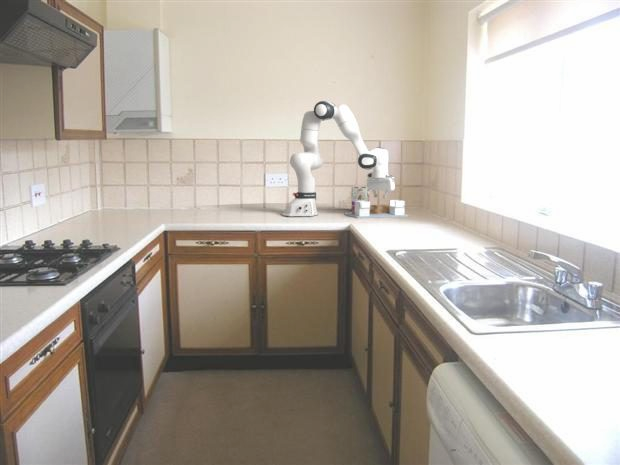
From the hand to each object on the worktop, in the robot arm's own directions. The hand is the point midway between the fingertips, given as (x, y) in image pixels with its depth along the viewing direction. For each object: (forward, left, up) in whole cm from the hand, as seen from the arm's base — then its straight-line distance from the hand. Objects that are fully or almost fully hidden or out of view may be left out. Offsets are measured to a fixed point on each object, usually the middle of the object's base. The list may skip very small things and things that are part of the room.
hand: (380, 197), depth 323 cm
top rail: (0, +9, -10) cm, 14 cm away
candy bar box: (0, +28, -12) cm, 30 cm away
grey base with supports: (0, +5, -11) cm, 13 cm away
